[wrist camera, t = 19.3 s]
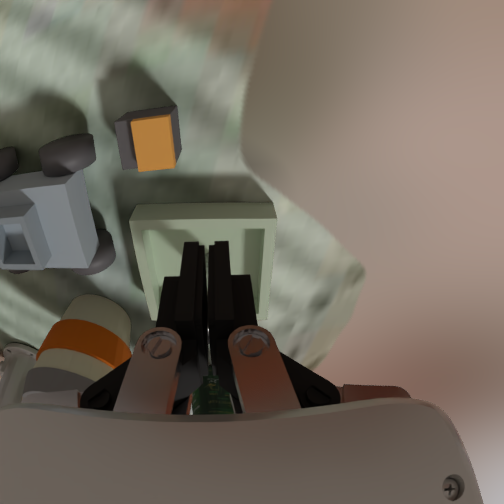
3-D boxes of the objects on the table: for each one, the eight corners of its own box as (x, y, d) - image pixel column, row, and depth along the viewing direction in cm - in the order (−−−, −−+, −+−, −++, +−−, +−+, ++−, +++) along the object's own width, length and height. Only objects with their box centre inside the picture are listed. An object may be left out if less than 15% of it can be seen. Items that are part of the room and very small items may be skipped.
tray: (155, 301, 37) (151, 320, 35) (136, 204, 29) (128, 220, 27) (264, 300, 38) (267, 319, 36) (272, 202, 30) (277, 218, 28)
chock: (134, 154, 26) (119, 174, 23) (127, 112, 24) (110, 125, 20) (181, 149, 26) (174, 168, 23) (177, 105, 24) (168, 116, 20)
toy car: (19, 246, 31) (-14, 295, 24) (-10, 151, 23) (-59, 189, 17) (121, 244, 32) (98, 302, 25) (101, 131, 24) (58, 167, 18)
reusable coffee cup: (109, 272, 34) (71, 386, 22) (161, 338, 41) (149, 441, 29) (41, 296, 36) (0, 390, 24) (93, 352, 43) (72, 440, 31)
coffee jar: (186, 383, 49) (183, 490, 34) (199, 359, 44) (197, 481, 30) (241, 393, 51) (248, 494, 37) (260, 370, 47) (272, 484, 32)
